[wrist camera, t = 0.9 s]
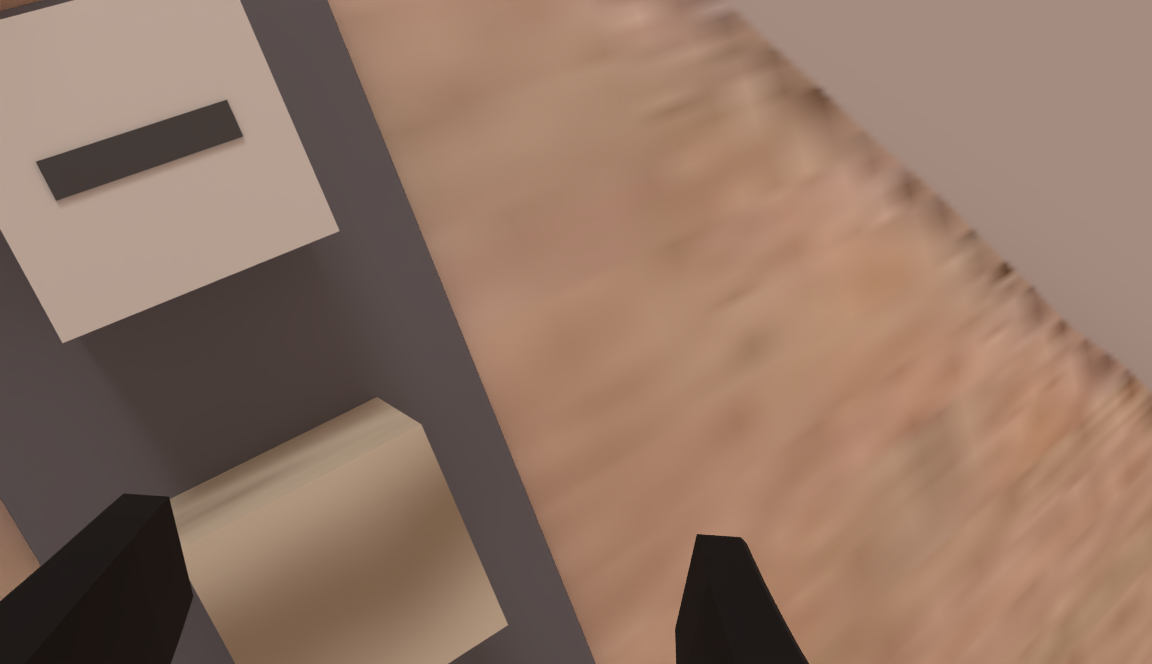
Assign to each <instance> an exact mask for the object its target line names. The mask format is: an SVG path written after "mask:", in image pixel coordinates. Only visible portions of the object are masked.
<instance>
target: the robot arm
mask: <svg viewBox="0 0 1152 664" xmlns="http://www.w3.org/2000/svg"><path fill="white" fill-rule="evenodd" d="M192 599H193V593H192V588H191V584H190V580H189V576H188V572H187V568H186V564H185V560H184V556H183V551H182V547H181V543H180V539H179V535H178V531H177V527H176V523H175V519H174V514H173V510H172V506H171V502H170V498H169V497H168V496H154V495H140V494H126V493H124V494H122V495H121V496H120V497H119V498H118V499H116V500H115V501H114V502H113V503H112V504H111V505H109V506H108V507H107V508H106V509H105V510H104V511H102V512H101V513H100V514H99V515H98V516H97V517H96V518H95V519H93V520H92V521H91V522H90V523H89V524H88V525H87V526H86V527H84V528H83V529H82V530H81V531H80V532H79V533H78V534H77V535H75V536H74V537H73V538H72V539H71V540H70V541H69V542H68V543H67V544H65V545H64V546H63V547H62V548H61V549H60V550H59V551H58V552H56V553H55V554H54V555H53V556H52V557H51V558H50V559H48V560H47V561H46V562H45V563H44V564H43V565H42V566H41V567H39V568H38V569H37V570H36V571H35V572H34V573H33V574H31V575H30V576H29V577H28V578H27V579H26V580H24V581H23V582H22V583H21V584H20V585H19V586H17V587H16V588H15V589H14V590H13V591H12V592H10V593H9V594H8V595H7V596H6V597H5V598H3V599H2V600H1V601H0V664H171V662H172V659H173V656H174V653H175V651H176V648H177V645H178V642H179V639H180V636H181V633H182V630H183V627H184V624H185V621H186V618H187V615H188V612H189V609H190V606H191V602H192ZM675 637H676V664H809V663H808V661H807V660H806V658H805V656H804V655H803V653H802V651H801V649H800V648H799V646H798V644H797V642H796V641H795V639H794V637H793V635H792V633H791V632H790V630H789V628H788V626H787V624H786V622H785V621H784V619H783V617H782V615H781V613H780V611H779V609H778V607H777V605H776V603H775V602H774V600H773V598H772V596H771V594H770V592H769V590H768V588H767V586H766V584H765V582H764V580H763V578H762V576H761V573H760V571H759V569H758V567H757V565H756V563H755V561H754V559H753V556H752V554H751V552H750V550H749V547H748V545H747V543H746V542H745V541H744V540H743V539H742V538H741V537H729V536H715V535H701V534H697V536H696V541H695V545H694V549H693V554H692V558H691V563H690V567H689V571H688V576H687V580H686V584H685V589H684V593H683V598H682V602H681V606H680V611H679V615H678V619H677V624H676V628H675Z"/></svg>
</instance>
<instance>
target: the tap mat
mask: <svg viewBox="0 0 1152 664" xmlns="http://www.w3.org/2000/svg"><path fill="white" fill-rule="evenodd" d="M69 1H73V0H42V1H38V2H34V3H30V4H27V5H23V6H19V7H15V8H11V9H7V10H3V11H0V19H4V18H8V17H12V16H16V15H20V14H23V13H27V12H31V11H35V10H39V9H42V8H46V7H50V6H54V5H58V4H61V3H65V2H69ZM240 1H241V4H242V6H243V8H244V11H245V13H246V15H247V18H248V20H249V22H250V25H251V27H252V29H253V32H254V34H255V36H256V39H257V41H258V43H259V45H260V48H261V50H262V52H263V55H264V57H265V59H266V62H267V64H268V66H269V69H270V71H271V73H272V76H273V78H274V80H275V83H276V85H277V87H278V89H279V92H280V94H281V96H282V99H283V101H284V103H285V106H286V108H287V110H288V113H289V115H290V117H291V120H292V122H293V124H294V126H295V129H296V131H297V133H298V136H299V138H300V140H301V143H302V145H303V147H304V150H305V152H306V154H307V157H308V159H309V161H310V164H311V166H312V168H313V170H314V173H315V175H316V177H317V180H318V182H319V184H320V187H321V189H322V191H323V194H324V196H325V198H326V201H327V203H328V205H329V208H330V210H331V212H332V214H333V217H334V219H335V221H336V224H337V226H338V228H339V231H338V232H336V233H334V234H331V235H329V236H326V237H324V238H321V239H319V240H316V241H314V242H311V243H309V244H306V245H304V246H301V247H299V248H296V249H294V250H292V251H289V252H287V253H284V254H282V255H279V256H277V257H274V258H272V259H269V260H267V261H264V262H262V263H259V264H257V265H255V266H252V267H250V268H247V269H245V270H242V271H240V272H237V273H235V274H232V275H230V276H227V277H225V278H222V279H220V280H217V281H215V282H213V283H210V284H208V285H205V286H203V287H200V288H198V289H195V290H193V291H190V292H188V293H185V294H183V295H180V296H178V297H176V298H173V299H171V300H168V301H166V302H163V303H161V304H158V305H156V306H153V307H151V308H148V309H146V310H143V311H141V312H139V313H136V314H134V315H131V316H129V317H126V318H124V319H121V320H119V321H116V322H114V323H111V324H109V325H106V326H104V327H101V328H99V329H97V330H94V331H92V332H89V333H87V334H84V335H82V336H79V337H77V338H74V339H72V340H69V341H67V342H64V343H62V341H61V340H60V338H59V336H58V334H57V332H56V330H55V329H54V327H53V325H52V323H51V321H50V319H49V318H48V316H47V314H46V312H45V310H44V308H43V307H42V305H41V303H40V301H39V299H38V297H37V296H36V294H35V292H34V290H33V288H32V286H31V285H30V283H29V281H28V279H27V277H26V275H25V274H24V272H23V270H22V268H21V266H20V264H19V263H18V261H17V259H16V257H15V255H14V253H13V252H12V250H11V248H10V246H9V244H8V242H7V241H6V239H5V237H4V235H3V233H2V231H1V230H0V498H1V500H2V501H3V503H4V505H5V506H6V508H7V510H8V511H9V513H10V515H11V516H12V518H13V520H14V521H15V523H16V525H17V526H18V528H19V530H20V531H21V533H22V535H23V536H24V538H25V540H26V541H27V543H28V545H29V546H30V548H31V550H32V551H33V553H34V555H35V556H36V558H37V560H38V561H39V563H40V565H41V566H42V565H43V564H44V563H45V562H46V561H47V560H48V559H50V558H51V557H52V556H53V555H54V554H55V553H56V552H58V551H59V550H60V549H61V548H62V547H63V546H64V545H65V544H67V543H68V542H69V541H70V540H71V539H72V538H73V537H74V536H75V535H77V534H78V533H79V532H80V531H81V530H82V529H83V528H84V527H86V526H87V525H88V524H89V523H90V522H91V521H92V520H93V519H95V518H96V517H97V516H98V515H99V514H100V513H101V512H102V511H104V510H105V509H106V508H107V507H108V506H109V505H111V504H112V503H113V502H114V501H115V500H116V499H118V498H119V497H120V496H121V495H122V494H124V493H126V494H140V495H154V496H168V497H169V498H170V499H171V498H173V497H175V496H177V495H179V494H181V493H183V492H185V491H187V490H189V489H191V488H193V487H195V486H197V485H199V484H202V483H204V482H206V481H208V480H210V479H212V478H214V477H216V476H218V475H220V474H222V473H224V472H226V471H228V470H230V469H232V468H234V467H236V466H238V465H240V464H242V463H244V462H246V461H248V460H250V459H252V458H254V457H256V456H258V455H260V454H262V453H264V452H266V451H268V450H271V449H273V448H275V447H277V446H279V445H281V444H283V443H285V442H287V441H289V440H291V439H293V438H295V437H297V436H299V435H301V434H303V433H305V432H307V431H309V430H311V429H313V428H315V427H317V426H319V425H321V424H323V423H325V422H327V421H329V420H331V419H333V418H335V417H337V416H339V415H342V414H344V413H346V412H348V411H350V410H352V409H354V408H356V407H358V406H360V405H362V404H364V403H366V402H368V401H370V400H372V399H374V398H376V397H378V398H379V399H381V400H383V401H384V402H386V403H387V404H389V405H391V406H392V407H394V408H396V409H397V410H399V411H400V412H402V413H404V414H405V415H407V416H409V417H410V418H412V419H413V420H415V421H417V422H418V423H420V424H421V425H422V427H423V429H424V432H425V434H426V436H427V439H428V441H429V443H430V445H431V448H432V450H433V452H434V455H435V457H436V459H437V462H438V464H439V466H440V469H441V471H442V473H443V476H444V478H445V480H446V482H447V485H448V487H449V489H450V492H451V494H452V496H453V499H454V501H455V503H456V506H457V508H458V510H459V513H460V515H461V517H462V519H463V522H464V524H465V526H466V529H467V531H468V533H469V536H470V538H471V540H472V543H473V545H474V547H475V550H476V552H477V554H478V556H479V559H480V561H481V563H482V566H483V568H484V570H485V573H486V575H487V577H488V580H489V582H490V584H491V587H492V589H493V591H494V593H495V596H496V598H497V600H498V603H499V605H500V607H501V610H502V612H503V614H504V617H505V619H506V621H507V624H508V625H507V626H506V627H504V628H503V629H501V630H500V631H498V632H496V633H495V634H493V635H492V636H490V637H489V638H487V639H486V640H484V641H483V642H481V643H479V644H478V645H476V646H475V647H473V648H472V649H470V650H469V651H467V652H465V653H464V654H462V655H461V656H459V657H458V658H456V659H455V660H453V661H451V662H450V663H448V664H595V661H594V659H593V656H592V654H591V651H590V649H589V646H588V644H587V641H586V639H585V637H584V634H583V632H582V629H581V627H580V624H579V622H578V619H577V617H576V614H575V612H574V609H573V607H572V604H571V602H570V599H569V597H568V595H567V592H566V590H565V587H564V585H563V582H562V580H561V577H560V575H559V572H558V570H557V567H556V565H555V562H554V560H553V557H552V555H551V552H550V550H549V548H548V545H547V543H546V540H545V538H544V535H543V533H542V530H541V528H540V525H539V523H538V520H537V518H536V515H535V513H534V510H533V508H532V506H531V503H530V501H529V498H528V496H527V493H526V491H525V488H524V486H523V483H522V481H521V478H520V476H519V473H518V471H517V468H516V466H515V463H514V461H513V459H512V456H511V454H510V451H509V449H508V446H507V444H506V441H505V439H504V436H503V434H502V431H501V429H500V426H499V424H498V421H497V419H496V417H495V414H494V412H493V409H492V407H491V404H490V402H489V399H488V397H487V394H486V392H485V389H484V387H483V384H482V382H481V379H480V377H479V375H478V372H477V370H476V367H475V365H474V362H473V360H472V357H471V355H470V352H469V350H468V347H467V345H466V342H465V340H464V337H463V335H462V332H461V330H460V328H459V325H458V323H457V320H456V318H455V315H454V313H453V310H452V308H451V305H450V303H449V300H448V298H447V295H446V293H445V290H444V288H443V286H442V283H441V281H440V278H439V276H438V273H437V271H436V268H435V266H434V263H433V261H432V258H431V256H430V253H429V251H428V248H427V246H426V243H425V241H424V239H423V236H422V234H421V231H420V229H419V226H418V224H417V221H416V219H415V216H414V214H413V211H412V209H411V206H410V204H409V201H408V199H407V197H406V194H405V192H404V189H403V187H402V184H401V182H400V179H399V177H398V174H397V172H396V169H395V167H394V164H393V162H392V159H391V157H390V155H389V152H388V150H387V147H386V145H385V142H384V140H383V137H382V135H381V132H380V130H379V127H378V125H377V122H376V120H375V117H374V115H373V112H372V110H371V108H370V105H369V103H368V100H367V98H366V95H365V93H364V90H363V88H362V85H361V83H360V80H359V78H358V75H357V73H356V70H355V68H354V66H353V63H352V61H351V58H350V56H349V53H348V51H347V48H346V46H345V43H344V41H343V38H342V36H341V33H340V31H339V28H338V26H337V23H336V21H335V19H334V16H333V14H332V11H331V9H330V6H329V4H328V1H327V0H240ZM190 584H191V582H190ZM191 588H192V593H193V599H192V602H191V606H190V609H189V612H188V615H187V618H186V621H185V624H184V627H183V630H182V633H181V636H180V639H179V642H178V645H177V648H176V651H175V653H174V656H173V659H172V662H171V664H235V662H234V660H233V659H232V657H231V655H230V653H229V651H228V649H227V648H226V646H225V644H224V642H223V640H222V638H221V637H220V635H219V633H218V631H217V629H216V627H215V626H214V624H213V622H212V620H211V618H210V616H209V615H208V613H207V611H206V609H205V607H204V606H203V604H202V602H201V600H200V598H199V596H198V595H197V593H196V591H195V589H194V587H193V585H192V584H191Z"/></svg>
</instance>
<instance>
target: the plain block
mask: <svg viewBox="0 0 1152 664" xmlns="http://www.w3.org/2000/svg"><path fill="white" fill-rule="evenodd" d="M170 502H171V506H172V510H173V514H174V519H175V523H176V527H177V531H178V535H179V539H180V543H181V547H182V551H183V556H184V560H185V564H186V568H187V572H188V576H189V580H190V582H191V584H192V585H193V587H194V589H195V591H196V593H197V595H198V596H199V598H200V600H201V602H202V604H203V606H204V607H205V609H206V611H207V613H208V615H209V616H210V618H211V620H212V622H213V624H214V626H215V627H216V629H217V631H218V633H219V635H220V637H221V638H222V640H223V642H224V644H225V646H226V648H227V649H228V651H229V653H230V655H231V657H232V659H233V660H234V662H235V664H448V663H450V662H451V661H453V660H455V659H456V658H458V657H459V656H461V655H462V654H464V653H465V652H467V651H469V650H470V649H472V648H473V647H475V646H476V645H478V644H479V643H481V642H483V641H484V640H486V639H487V638H489V637H490V636H492V635H493V634H495V633H496V632H498V631H500V630H501V629H503V628H504V627H506V626H507V625H508V624H507V621H506V619H505V617H504V614H503V612H502V610H501V607H500V605H499V603H498V600H497V598H496V596H495V593H494V591H493V589H492V587H491V584H490V582H489V580H488V577H487V575H486V573H485V570H484V568H483V566H482V563H481V561H480V559H479V556H478V554H477V552H476V550H475V547H474V545H473V543H472V540H471V538H470V536H469V533H468V531H467V529H466V526H465V524H464V522H463V519H462V517H461V515H460V513H459V510H458V508H457V506H456V503H455V501H454V499H453V496H452V494H451V492H450V489H449V487H448V485H447V482H446V480H445V478H444V476H443V473H442V471H441V469H440V466H439V464H438V462H437V459H436V457H435V455H434V452H433V450H432V448H431V445H430V443H429V441H428V439H427V436H426V434H425V432H424V429H423V427H422V425H421V424H420V423H418V422H417V421H415V420H413V419H412V418H410V417H409V416H407V415H405V414H404V413H402V412H400V411H399V410H397V409H396V408H394V407H392V406H391V405H389V404H387V403H386V402H384V401H383V400H381V399H379V398H378V397H376V398H374V399H372V400H370V401H368V402H366V403H364V404H362V405H360V406H358V407H356V408H354V409H352V410H350V411H348V412H346V413H344V414H342V415H339V416H337V417H335V418H333V419H331V420H329V421H327V422H325V423H323V424H321V425H319V426H317V427H315V428H313V429H311V430H309V431H307V432H305V433H303V434H301V435H299V436H297V437H295V438H293V439H291V440H289V441H287V442H285V443H283V444H281V445H279V446H277V447H275V448H273V449H271V450H268V451H266V452H264V453H262V454H260V455H258V456H256V457H254V458H252V459H250V460H248V461H246V462H244V463H242V464H240V465H238V466H236V467H234V468H232V469H230V470H228V471H226V472H224V473H222V474H220V475H218V476H216V477H214V478H212V479H210V480H208V481H206V482H204V483H202V484H199V485H197V486H195V487H193V488H191V489H189V490H187V491H185V492H183V493H181V494H179V495H177V496H175V497H173V498H171V499H170Z"/></svg>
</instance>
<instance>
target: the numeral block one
mask: <svg viewBox="0 0 1152 664" xmlns="http://www.w3.org/2000/svg"><path fill="white" fill-rule="evenodd" d="M0 230H1V231H2V233H3V235H4V237H5V239H6V241H7V242H8V244H9V246H10V248H11V250H12V252H13V253H14V255H15V257H16V259H17V261H18V263H19V264H20V266H21V268H22V270H23V272H24V274H25V275H26V277H27V279H28V281H29V283H30V285H31V286H32V288H33V290H34V292H35V294H36V296H37V297H38V299H39V301H40V303H41V305H42V307H43V308H44V310H45V312H46V314H47V316H48V318H49V319H50V321H51V323H52V325H53V327H54V329H55V330H56V332H57V334H58V336H59V338H60V340H61V341H62V343H64V342H67V341H69V340H72V339H74V338H77V337H79V336H82V335H84V334H87V333H89V332H92V331H94V330H97V329H99V328H101V327H104V326H106V325H109V324H111V323H114V322H116V321H119V320H121V319H124V318H126V317H129V316H131V315H134V314H136V313H139V312H141V311H143V310H146V309H148V308H151V307H153V306H156V305H158V304H161V303H163V302H166V301H168V300H171V299H173V298H176V297H178V296H180V295H183V294H185V293H188V292H190V291H193V290H195V289H198V288H200V287H203V286H205V285H208V284H210V283H213V282H215V281H217V280H220V279H222V278H225V277H227V276H230V275H232V274H235V273H237V272H240V271H242V270H245V269H247V268H250V267H252V266H255V265H257V264H259V263H262V262H264V261H267V260H269V259H272V258H274V257H277V256H279V255H282V254H284V253H287V252H289V251H292V250H294V249H296V248H299V247H301V246H304V245H306V244H309V243H311V242H314V241H316V240H319V239H321V238H324V237H326V236H329V235H331V234H334V233H336V232H338V231H339V228H338V226H337V224H336V221H335V219H334V217H333V214H332V212H331V210H330V208H329V205H328V203H327V201H326V198H325V196H324V194H323V191H322V189H321V187H320V184H319V182H318V180H317V177H316V175H315V173H314V170H313V168H312V166H311V164H310V161H309V159H308V157H307V154H306V152H305V150H304V147H303V145H302V143H301V140H300V138H299V136H298V133H297V131H296V129H295V126H294V124H293V122H292V120H291V117H290V115H289V113H288V110H287V108H286V106H285V103H284V101H283V99H282V96H281V94H280V92H279V89H278V87H277V85H276V83H275V80H274V78H273V76H272V73H271V71H270V69H269V66H268V64H267V62H266V59H265V57H264V55H263V52H262V50H261V48H260V45H259V43H258V41H257V39H256V36H255V34H254V32H253V29H252V27H251V25H250V22H249V20H248V18H247V15H246V13H245V11H244V8H243V6H242V4H241V1H240V0H73V1H69V2H65V3H61V4H58V5H54V6H50V7H46V8H42V9H39V10H35V11H31V12H27V13H23V14H20V15H16V16H12V17H8V18H4V19H0Z"/></svg>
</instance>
